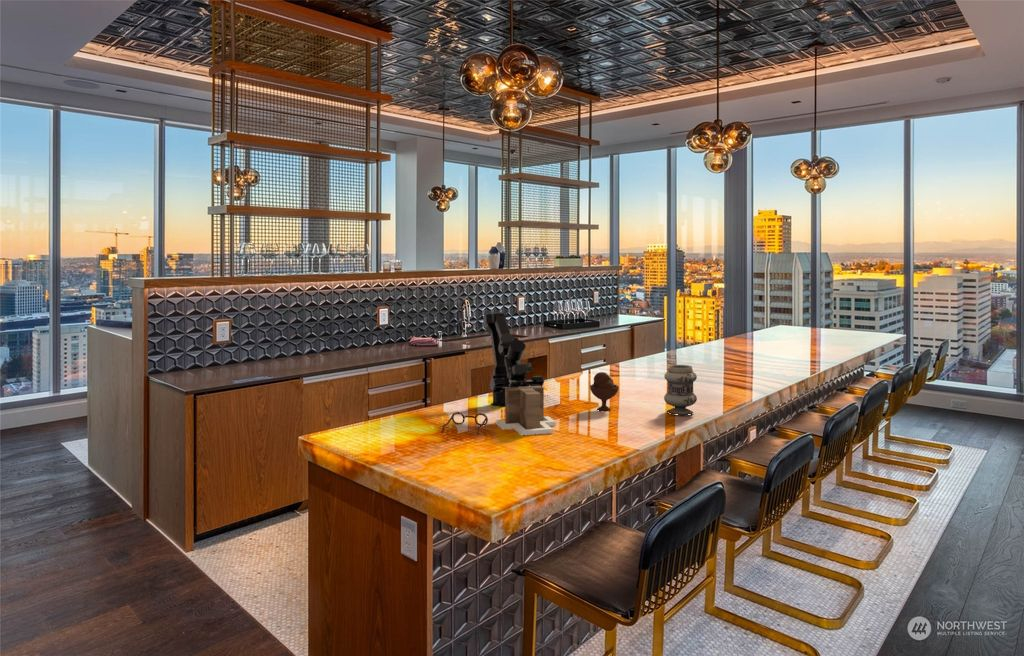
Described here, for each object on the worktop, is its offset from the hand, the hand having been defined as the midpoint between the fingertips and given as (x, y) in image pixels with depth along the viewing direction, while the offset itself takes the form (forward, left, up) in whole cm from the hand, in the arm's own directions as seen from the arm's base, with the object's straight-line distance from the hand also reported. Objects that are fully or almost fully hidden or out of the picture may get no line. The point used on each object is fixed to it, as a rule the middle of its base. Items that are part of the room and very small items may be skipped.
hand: (522, 403), depth 233 cm
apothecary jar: (+46, +40, -7) cm, 61 cm away
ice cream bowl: (+19, +31, -7) cm, 37 cm away
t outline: (+6, -6, -7) cm, 11 cm away
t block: (+5, -5, -7) cm, 10 cm away
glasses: (-13, -18, -7) cm, 23 cm away
